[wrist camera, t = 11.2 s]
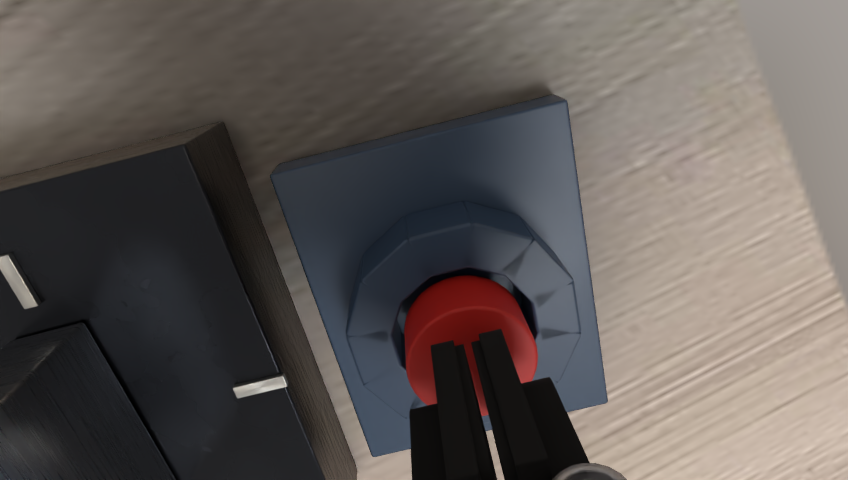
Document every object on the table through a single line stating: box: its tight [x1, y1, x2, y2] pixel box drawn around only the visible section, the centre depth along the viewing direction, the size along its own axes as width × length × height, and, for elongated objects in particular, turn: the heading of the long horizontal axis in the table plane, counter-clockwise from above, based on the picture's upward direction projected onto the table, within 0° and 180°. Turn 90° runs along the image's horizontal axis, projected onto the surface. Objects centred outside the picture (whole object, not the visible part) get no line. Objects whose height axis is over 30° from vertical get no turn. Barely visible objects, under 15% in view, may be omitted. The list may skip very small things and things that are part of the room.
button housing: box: [270, 95, 608, 457], centre depth 16 cm, size 10×8×3 cm
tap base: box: [0, 122, 357, 480], centre depth 16 cm, size 13×10×3 cm
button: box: [404, 275, 538, 416], centre depth 14 cm, size 3×3×2 cm
